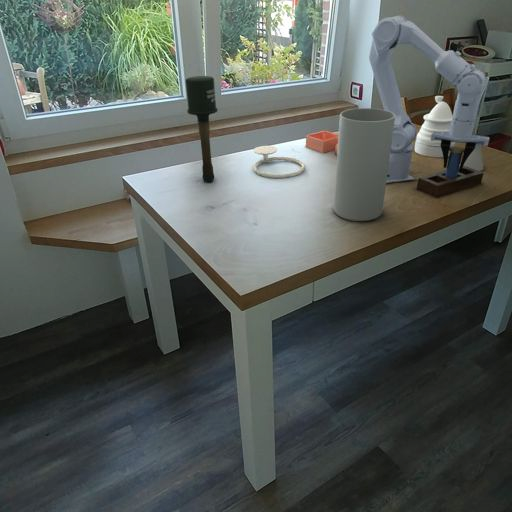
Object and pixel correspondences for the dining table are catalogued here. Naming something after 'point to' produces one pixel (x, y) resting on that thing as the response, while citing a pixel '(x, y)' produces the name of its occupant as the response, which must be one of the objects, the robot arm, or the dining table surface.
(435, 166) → the dining table surface
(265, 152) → the hand towel holder
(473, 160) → the flask
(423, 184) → the holder
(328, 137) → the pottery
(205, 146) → the stick grenade
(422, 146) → the honey pot
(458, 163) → the capped tube
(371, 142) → the cylinder vase
